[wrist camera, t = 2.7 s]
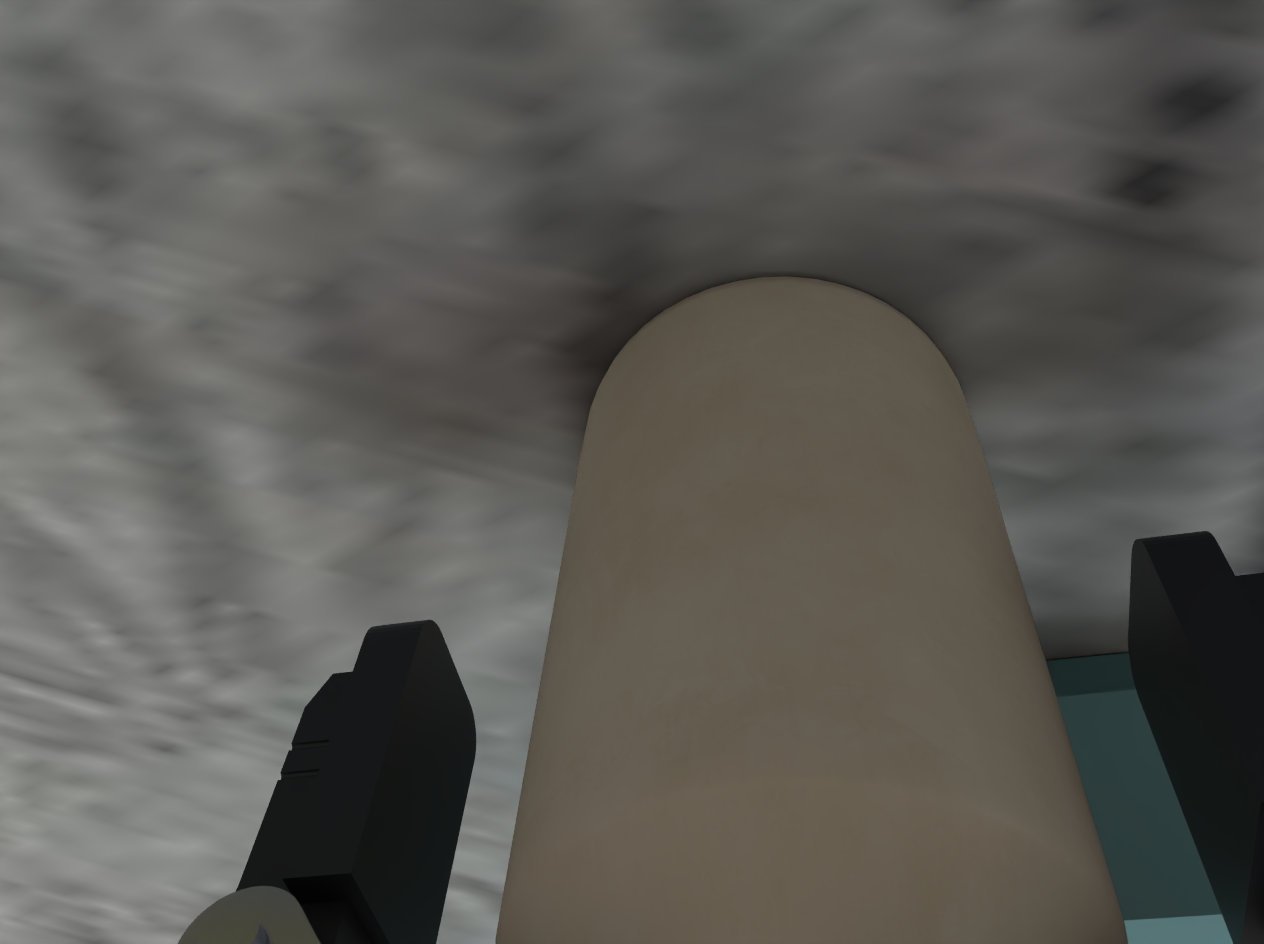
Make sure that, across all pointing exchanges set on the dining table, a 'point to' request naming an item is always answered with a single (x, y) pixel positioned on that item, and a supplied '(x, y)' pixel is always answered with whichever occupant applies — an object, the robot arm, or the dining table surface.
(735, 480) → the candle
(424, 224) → the dining table surface
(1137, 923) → the tote
